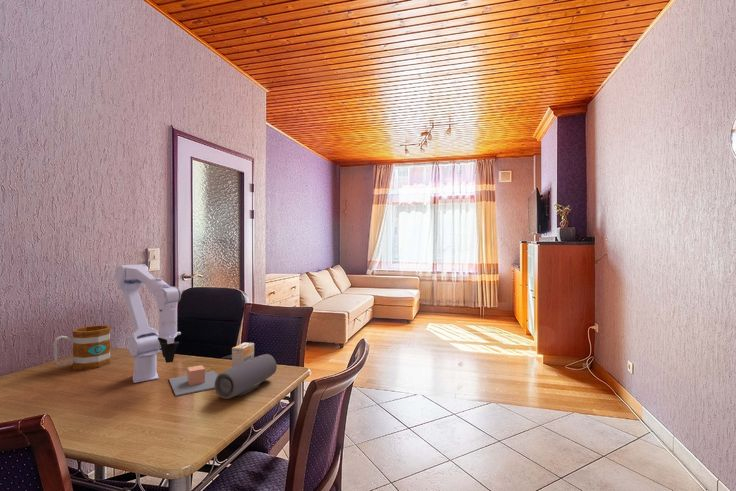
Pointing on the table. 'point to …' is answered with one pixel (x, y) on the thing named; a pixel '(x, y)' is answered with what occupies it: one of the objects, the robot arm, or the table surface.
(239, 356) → the supplement box
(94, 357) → the mug
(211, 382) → the gray placemat
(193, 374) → the terracotta cube
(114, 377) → the table surface
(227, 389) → the bluetooth speaker
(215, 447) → the table surface
